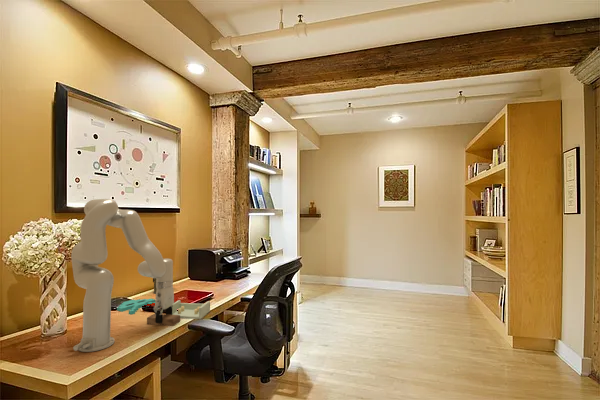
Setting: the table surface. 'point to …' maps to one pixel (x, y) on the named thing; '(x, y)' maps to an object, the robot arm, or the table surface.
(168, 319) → the brown wooden block
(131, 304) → the alien figure
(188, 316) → the peg frame
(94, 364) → the table surface
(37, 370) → the table surface
